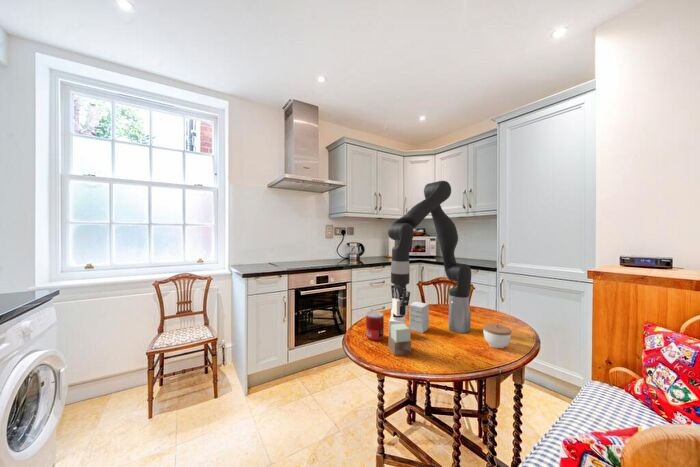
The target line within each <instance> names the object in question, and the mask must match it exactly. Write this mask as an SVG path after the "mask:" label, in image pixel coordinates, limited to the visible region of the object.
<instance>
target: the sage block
mask: <svg viewBox="0 0 700 467" xmlns="http://www.w3.org/2000/svg"><path fill="white" fill-rule="evenodd" d="M391 337H392V338H393V339H394V340H395V342H406V341H411V329H410V328H409V325H408V326H407V324H406V325H405V324H404V323H403V324H391Z"/></svg>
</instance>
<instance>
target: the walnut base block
mask: <svg viewBox="0 0 700 467" xmlns="http://www.w3.org/2000/svg"><path fill="white" fill-rule="evenodd" d="M387 338H388V344H387V346H388V349H389V350H390V351H391V353H392V354H393V355H394V356H401V355H410V354H412V340H410V341H406V342H395V340H394V339H393V338H392V337H391V336H390V335H388V336H387Z"/></svg>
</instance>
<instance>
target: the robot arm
mask: <svg viewBox="0 0 700 467" xmlns="http://www.w3.org/2000/svg"><path fill="white" fill-rule="evenodd" d="M423 194H424V195H423V196H424V199H423V200H422V201H420V202H418V203H416V204H414V206H412V207H411V208H410V209H409V210H408V211H407V212H406V214H404V215H403V216H401V217H400V218H399V219H397V220H395V221H394V222H392V223H391V224H390V226H389V228H388V230H387V234H388V235H387V236H388V237H389V238H390V239H391V240H394V241H399V243H398V245H397V246H393V247H392V249H391V263H390V264H391V266H390V282H391V286H390V290H391V298H398V300H399V301H400V315H404V316H406V315H405V306H407V307H408V306H409V305H410V298H411V292H410V291H407V285H409V284H410V277H411V276H410V249H411V245H412V242H413V238H414V234H415V231H414V229H415V228H417V227H419V225H420V224H421V223H422V222H423V220H424V219H426V217H427V216H428V215H429V214H430V215H431V218H432V220H433V225H434V228H435V233H436V236H437V240H438V244H439V247H440V250H441V255H442V259H443V260H442V261H443V265H444V266H443V268H444V271H445V275H446V277H447V279H448V280H450V281H453V282H457V283H456V287H450V288H449V290H448V329H449V330H450V331H451V332H455V333H459V334H466V333H469V332H471V324H472V323H471V318H472V316H471V315H472V314H471V313H472V312H471V311H470V292H471V287H472V286H471V285H472V268H471V266H469V264H466V263H460V262H457V261H456V256H455V250H456V247H457V245H458V242H459V235H458V230H457V227H456V224H455V223H454V221H453V220H452V219H451V218H450V217H449V216H448V214H447V213H445V211H444V210H443V208H442V206H441V204H442V203H444V202H445V201H447V200H448V199H449V198H450V197H451V194H452V186H451V184H450V183H449V182H448V181H447V180H438V181H434V182H430V183H426V185H425V186H424V188H423ZM401 300H402V301H401Z"/></svg>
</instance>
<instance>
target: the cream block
mask: <svg viewBox="0 0 700 467" xmlns="http://www.w3.org/2000/svg"><path fill="white" fill-rule="evenodd" d="M391 298H392V297H391ZM391 300H392V301H391V302H392V304H391V306H392V308H391V309H392V313H394V314H395V315H396V316H404V317H405V316H408V306H405V315H400V301H399V300H398V298H392V299H391ZM401 301H402V300H401Z"/></svg>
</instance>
